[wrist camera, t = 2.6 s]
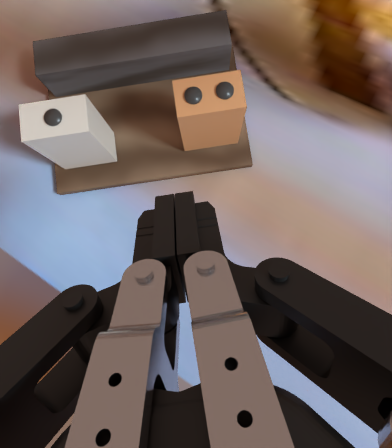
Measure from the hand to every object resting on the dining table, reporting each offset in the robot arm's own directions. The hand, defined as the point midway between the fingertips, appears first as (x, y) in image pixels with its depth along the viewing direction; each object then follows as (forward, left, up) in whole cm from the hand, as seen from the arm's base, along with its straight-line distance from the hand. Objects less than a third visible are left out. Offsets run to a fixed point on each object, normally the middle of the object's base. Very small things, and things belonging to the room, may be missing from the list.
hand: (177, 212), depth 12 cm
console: (-8, -17, -27) cm, 33 cm away
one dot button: (0, -19, -26) cm, 32 cm away
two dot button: (-12, -9, -26) cm, 30 cm away
